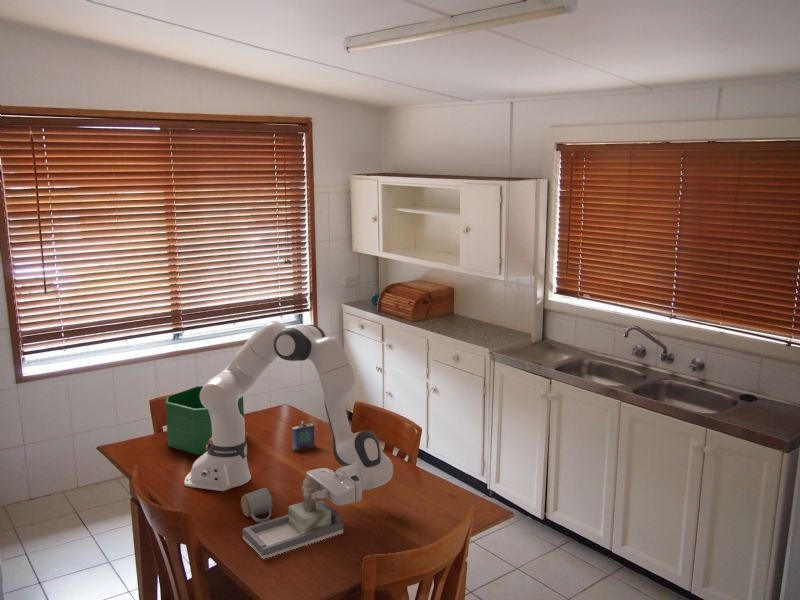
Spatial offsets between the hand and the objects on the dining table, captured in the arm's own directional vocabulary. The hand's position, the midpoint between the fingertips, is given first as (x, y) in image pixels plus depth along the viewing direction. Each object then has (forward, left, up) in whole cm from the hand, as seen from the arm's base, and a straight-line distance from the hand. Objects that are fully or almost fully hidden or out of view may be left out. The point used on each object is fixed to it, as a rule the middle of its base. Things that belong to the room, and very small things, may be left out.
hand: (306, 492), depth 208 cm
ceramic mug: (-17, +9, -13) cm, 23 cm away
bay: (-4, -3, -13) cm, 13 cm away
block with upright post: (+1, +1, -11) cm, 11 cm away
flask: (-14, +63, -13) cm, 66 cm away
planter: (-54, +68, -13) cm, 88 cm away
